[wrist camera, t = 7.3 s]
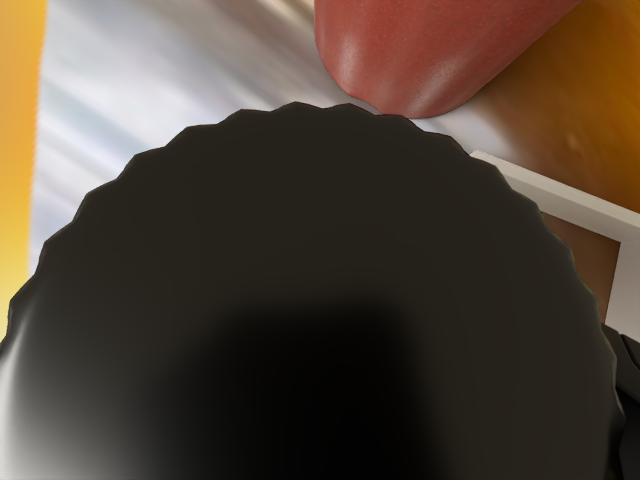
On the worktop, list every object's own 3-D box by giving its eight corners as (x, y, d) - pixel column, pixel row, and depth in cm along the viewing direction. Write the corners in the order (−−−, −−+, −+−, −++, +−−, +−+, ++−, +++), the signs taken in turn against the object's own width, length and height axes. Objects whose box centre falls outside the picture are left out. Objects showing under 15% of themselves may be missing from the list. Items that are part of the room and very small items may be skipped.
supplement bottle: (371, 233, 15) (669, 3, 3) (383, 398, 14) (898, 925, 2) (211, 239, 14) (-127, -29, 3) (211, 412, 13) (-384, 1297, 2)
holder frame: (596, 433, 20) (637, 452, 18) (395, 359, 20) (410, 368, 17) (634, 235, 22) (675, 228, 20) (455, 164, 22) (476, 149, 20)
